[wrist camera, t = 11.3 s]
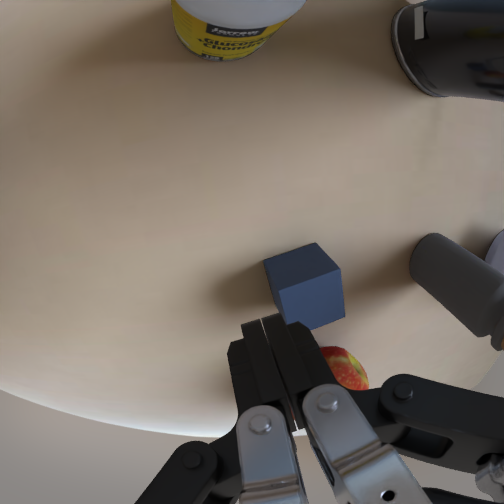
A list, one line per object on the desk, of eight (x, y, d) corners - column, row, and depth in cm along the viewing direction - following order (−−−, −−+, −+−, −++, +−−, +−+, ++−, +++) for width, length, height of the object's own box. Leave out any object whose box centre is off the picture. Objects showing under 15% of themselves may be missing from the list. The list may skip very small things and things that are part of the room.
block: (262, 260, 23) (278, 290, 19) (315, 242, 24) (340, 268, 20) (275, 304, 25) (290, 338, 21) (323, 287, 26) (345, 316, 22)
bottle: (420, 228, 25) (535, 309, 12) (452, 235, 27) (552, 304, 13) (401, 281, 28) (496, 375, 14) (434, 282, 29) (521, 360, 16)
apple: (356, 353, 31) (388, 403, 24) (299, 394, 32) (321, 446, 25) (324, 320, 28) (360, 378, 20) (259, 368, 29) (278, 431, 22)
